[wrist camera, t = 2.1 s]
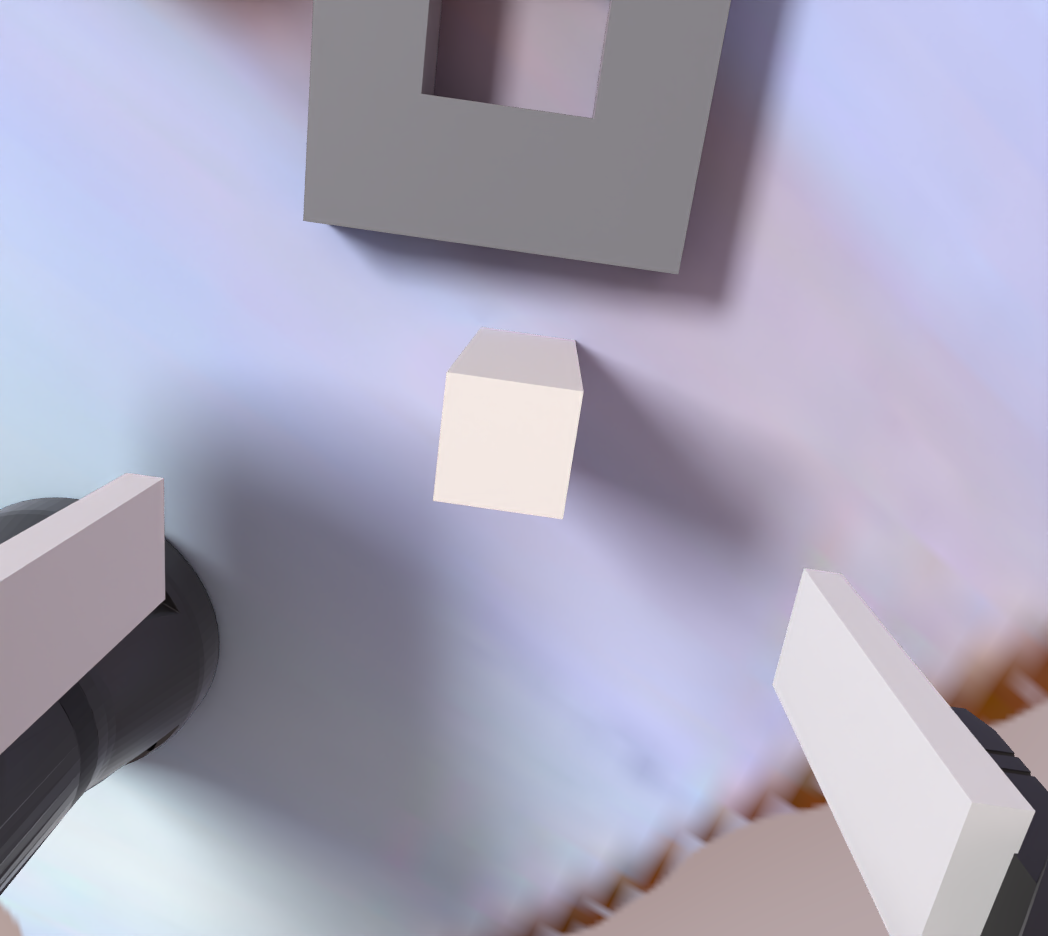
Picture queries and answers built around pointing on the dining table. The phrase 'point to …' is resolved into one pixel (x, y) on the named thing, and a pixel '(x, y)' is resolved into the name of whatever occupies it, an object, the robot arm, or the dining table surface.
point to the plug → (510, 423)
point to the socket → (512, 137)
